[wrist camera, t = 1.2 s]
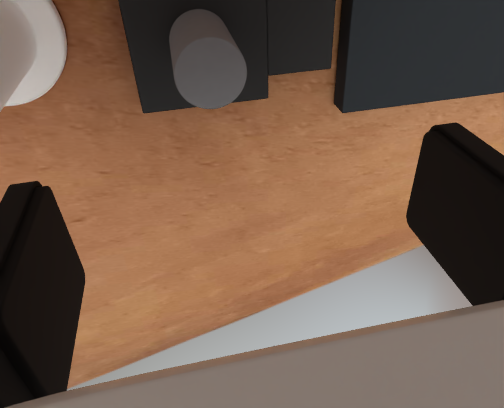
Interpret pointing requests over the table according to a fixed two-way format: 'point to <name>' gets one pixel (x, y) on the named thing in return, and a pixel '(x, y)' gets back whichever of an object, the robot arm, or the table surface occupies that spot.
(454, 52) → the dock pad
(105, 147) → the table surface
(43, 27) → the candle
